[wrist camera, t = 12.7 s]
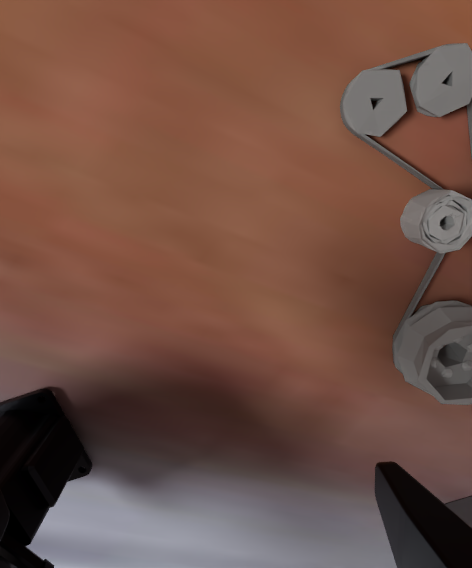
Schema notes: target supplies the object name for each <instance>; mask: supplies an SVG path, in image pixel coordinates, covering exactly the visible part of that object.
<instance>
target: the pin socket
mask: <svg viewBox="0 0 472 568" xmlns="http://www.w3.org/2000/svg"><path fill="white" fill-rule="evenodd" d="M445 505H446V506H447V507H448V508H449V509H450V510H452V511H453V512H454V513H455V514H456V515H457V516H459V517H460V518H461V519H462V520H463V521H464V522H466V523H467V524H468V525H469V526H470V527H471V528H472V496H470V497H467V498H464V499H460V500H457V501H454V502H450V503H447V504H445Z"/></svg>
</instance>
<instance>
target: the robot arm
mask: <svg viewBox="0 0 472 568" xmlns="http://www.w3.org/2000/svg"><path fill="white" fill-rule="evenodd" d="M41 396H43V397H45V398H46V399H42V398H41ZM82 467H85V468H82ZM91 469H92V462H91V461H90V459H89V457H88V455H87V454H86V452H85V450H84V447H83V445H82V444H81V442H80V440H79V438H78V437H77V435H76V433H75V431H74V430H73V428H72V426H71V424H70V422H69V421H68V419H67V418H66V416H65V415H64V413H63V411H62V409H61V408H60V406H59V404H58V402H57V401H56V399H55V397H54V395H53V393H52V392H51V391H50V390H48V389H40V390H37V391H34V392H31V393H28V394H25V395H22V396H19V397H16V398H13V399H10V400H7V401H4V402H1V403H0V568H54V565H53V564H51V563H50V562H49V561H48V560H46V559H45V560H42V559H41V558H40V557H38V556H37V555H36V554H35V553H33V552H32V551H31V550H30V549H28V548H27V547H26V546H27V545H29V544H31V542H32V540H33V538H34V536H35V534H36V532H37V531H38V529H39V527H40V525H41V523H42V521H43V519H44V518H45V516H46V514H47V512H48V510H49V508H50V507H54V505H55V504H56V502H57V500H58V498H59V496H60V494H61V493H62V491H63V489H64V487H65V485H66V483H67V482H68V481H71V480H74V479H77V478H80V477H83V476H86V475H88V474H89V473H90V471H91ZM375 496H376V501H377V504H378V507H379V510H380V514H381V517H382V520H383V523H384V526H385V530H386V533H387V536H388V539H389V542H390V546H391V549H392V552H393V555H394V559H395V562H396V565H397V568H472V528H471V527H470V526H469V525H468V524H467V523H466V522H464V521H463V520H462V519H461V518H460V517H459V516H457V515H456V514H455V513H454V512H453V511H452V510H450V509H449V508H448V507H447V506H446V505H445V504H444V503H442V502H441V501H440V500H439V499H438V498H437V497H435V496H434V495H433V494H432V493H431V492H430V491H428V490H427V489H426V488H425V487H424V486H423V485H421V484H420V483H419V482H418V481H417V480H416V479H414V478H413V477H412V476H411V475H410V474H409V473H407V472H406V471H405V470H404V469H403V468H402V467H400V466H399V465H398V464H397V463H395V462H379V463H377V464H376V467H375Z"/></svg>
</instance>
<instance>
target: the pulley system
mask: <svg viewBox="0 0 472 568" xmlns="http://www.w3.org/2000/svg"><path fill="white" fill-rule="evenodd" d="M425 57H426V58H425ZM422 58H425V59H424V60H422V62H420V63H418V65H417V67H416V70H415V72H414V74H413V76H412V79H411V81H410V84H409V85H410V88H411V92H412V95H413V99H414V102H415V105H416V109H417V111H418V112H420V113H422V114H424V115H427V116H432V117H441V116H443V115H445V114H448V113H450V112H452V111H454V110H456V109H459V108H461V107H463V106H465V105H467V114H468V125H469V135H470V146H471V157H472V51H471V49H470V48H469V46H468V44H467V43H461V44H446V45H442V46H439V47H436V48H433V49H430V50H427V51H424V52H420V53H417V54H414V55H411V56H408V57H405V58H402V59H399V60H396V61H393V62H390V63H386V64H383V65H380V66H377V67H374V68H371V69H368V70H363V71H362V72H361V73H360V74H359V75H358V76H357V77H355V78H354V79H353V80H352V81H351V82H350V83H349V84H348V85H347V87H346V89H345V90H344V93H343V95H342V98H341V103H340V112H341V118H342V121H343V123H344V125H345V126H346V128H347V129H348V130H349V131H350V132H351V133H352V134H354V135H355V136H357V137H358V138H360V139H361V140H363V141H364V142H366V143H367V144H369V145H370V146H372V147H373V148H375V149H376V150H378V151H379V152H381V153H382V154H384V155H385V156H387V157H388V158H389V159H391V160H392V161H394V162H395V163H397V164H398V165H399V166H401V167H402V168H404V169H405V170H407V171H408V172H409V173H411V174H412V175H414V176H415V177H417V178H418V179H419V180H421V181H422V182H424V183H425V184H427V185H428V186H430V187H431V188H432V189H429V190H427V191H425V192H423V193H421V194H419V195H417V196H415V197H413V198H412V199H410V200H409V202H408V204H407V205H406V207H405V209H404V212H403V214H402V216H401V218H400V221H401V228H402V231H403V232H404V234H405V237H406V238H407V239H409V240H410V241H412V242H414V243H418V244H420V245H422V246H425V247H427V248H429V249H431V250H433V251H436V252H437V253H436V255H435V257H434V259H433V261H432V262H431V264H430V266H429V268H428V270H427V272H426V274H425V276H424V278H423V280H422V282H421V284H420V285H419V287H418V289H417V291H416V293H415V295H414V297H413V299H412V301H411V303H410V305H409V307H408V308H407V310H406V312H405V314H404V316H403V318H402V320H401V322H400V324H399V326H398V328H397V330H396V331H395V333H394V335H393V346H392V350H393V362H394V364H395V367H396V368H397V369H398V370H399V371H400V372H401V373H402V374H403V376H404V379H405V381H406V382H408V383H410V384H412V385H413V386H415V387H417V388H419V389H421V390H423V391H425V392H427V393H429V394H431V395H432V396H434V397H435V398H436V399H437V400H438V401H439V402H440V403H441V404H458V405H469V404H472V306H470V305H467V304H465V303H462V302H459V301H454V300H450V301H441V302H435V303H433V304H430V305H425V306H421V307H420V308H419V309H418V310H417V312H416V313H414V314H413V315H412V313H413V311H414V309H415V308H416V306H417V304H418V302H419V300H420V299H421V297H422V295H423V293H424V291H425V290H426V288H427V286H428V284H429V282H430V281H431V279H432V277H433V275H434V273H435V271H436V270H437V268H438V266H439V264H440V262H441V261H442V259H443V257H444V255H445V253H446V252H451V251H456V250H460V249H461V247H462V246H463V245H464V244H465V243H466V242H467V241H468V240H469V239H470V238H471V237H472V199H470V198H468V197H465V196H463V195H461V194H459V193H457V192H455V191H452V190H444V189H443V188H441V187H440V186H438V185H437V184H436V183H434V182H433V181H431V180H430V179H428V178H427V177H425V176H424V175H423V174H421V173H420V172H418V171H417V170H415V169H414V168H412V167H411V166H410V165H408V164H407V163H405V162H404V161H402V160H401V159H400V158H398V157H397V156H395V155H394V154H392V153H391V152H389V151H388V150H387V149H385V148H384V147H382V146H381V145H379V144H378V143H376V142H375V141H374V140H372V139H371V138H369V137H368V136H366V135H372V136H378V137H381V136H382V135H383V134H384V133H385V132H386V131H387V130H388V129H390V128H391V127H392V126H393V125H394V124H395V123H396V122H397V121H398V120H399V119H400V118H401V117H402V116H403V115H404V114H405V113H406V112H407V106H406V99H405V92H404V85H403V81H402V77H401V74H400V70H390V69H387V68H391V67H394V66H398V65H401V64H404V63H408V62H411V61H415V60H418V59H422ZM442 82H443V83H444V84H442ZM371 101H377V102H376V103H375V105H374V106H373V107H372V103H371ZM411 315H412V316H411ZM444 345H446V346H445V347H443V346H444ZM441 348H442V349H441Z"/></svg>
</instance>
